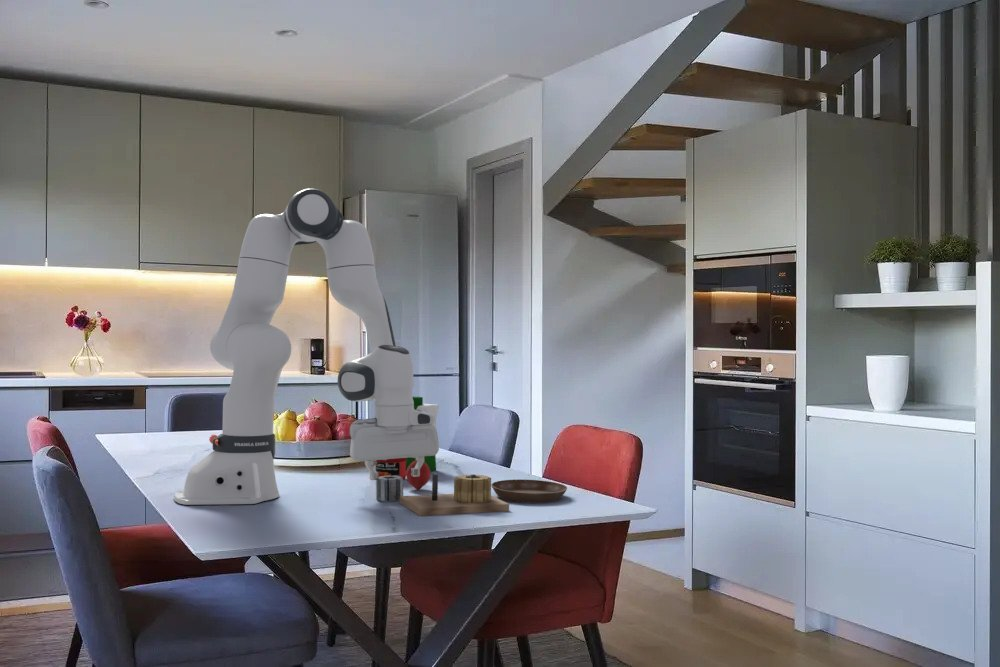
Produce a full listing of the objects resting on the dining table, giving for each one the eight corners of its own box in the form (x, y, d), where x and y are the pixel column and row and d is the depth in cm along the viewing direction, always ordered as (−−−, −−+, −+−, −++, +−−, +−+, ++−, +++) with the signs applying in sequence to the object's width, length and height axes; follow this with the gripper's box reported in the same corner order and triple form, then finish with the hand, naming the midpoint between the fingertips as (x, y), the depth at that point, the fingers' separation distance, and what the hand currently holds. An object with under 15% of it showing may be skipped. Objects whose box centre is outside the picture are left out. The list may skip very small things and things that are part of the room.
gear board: (419, 515, 199) (420, 482, 199) (399, 502, 213) (400, 471, 213) (509, 511, 207) (509, 478, 207) (484, 498, 221) (484, 468, 221)
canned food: (369, 480, 244) (370, 436, 244) (385, 475, 251) (386, 433, 251) (396, 482, 241) (397, 438, 241) (411, 478, 248) (412, 435, 248)
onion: (426, 492, 228) (427, 458, 228) (402, 491, 229) (403, 457, 229) (432, 488, 233) (433, 455, 233) (410, 487, 235) (410, 454, 234)
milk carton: (395, 470, 260) (396, 396, 260) (415, 467, 268) (417, 395, 267) (421, 474, 255) (422, 398, 255) (441, 470, 263) (443, 396, 263)
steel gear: (379, 503, 213) (379, 480, 213) (373, 498, 219) (372, 476, 219) (406, 501, 215) (406, 478, 215) (399, 496, 221) (398, 474, 221)
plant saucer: (582, 499, 224) (583, 486, 224) (529, 508, 212) (530, 494, 212) (528, 489, 237) (528, 476, 237) (475, 497, 225) (475, 483, 225)
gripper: (353, 421, 211) (354, 484, 211) (441, 416, 220) (441, 476, 220) (345, 418, 217) (346, 479, 217) (431, 413, 225) (431, 472, 226)
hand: (395, 478), depth 219 cm, fingers open, 8 cm apart
